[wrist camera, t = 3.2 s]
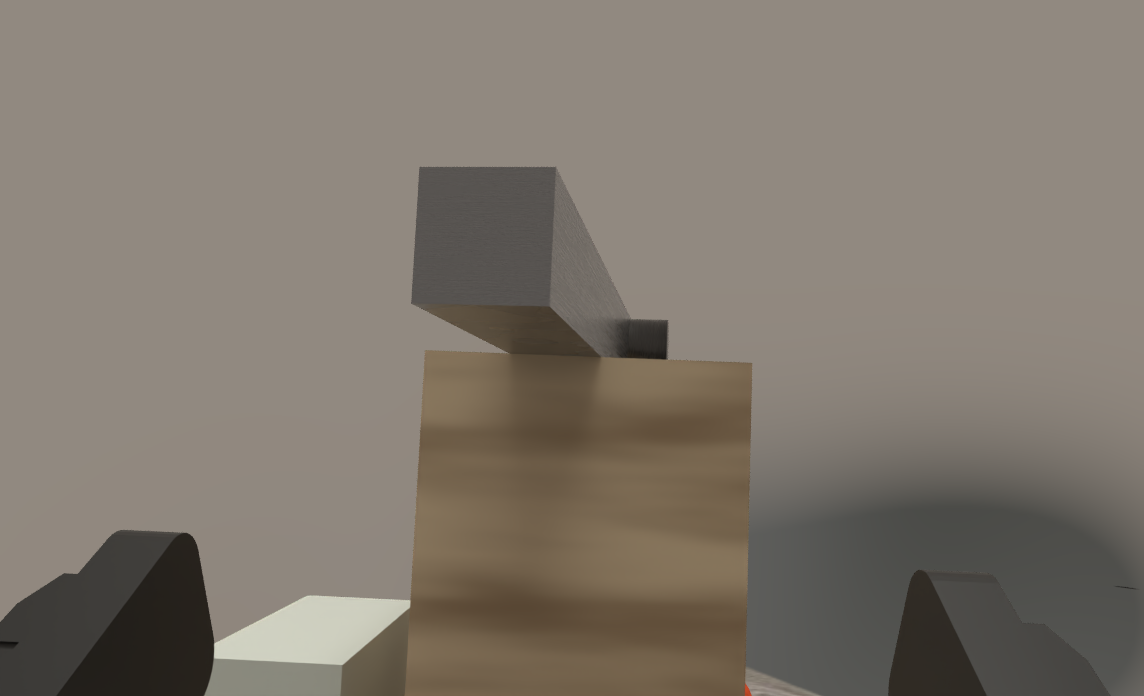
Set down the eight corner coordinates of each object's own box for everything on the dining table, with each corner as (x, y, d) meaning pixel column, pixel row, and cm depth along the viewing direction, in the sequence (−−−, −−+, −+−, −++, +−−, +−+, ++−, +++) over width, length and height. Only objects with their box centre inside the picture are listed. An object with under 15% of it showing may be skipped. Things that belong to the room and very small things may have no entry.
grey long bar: (630, 308, 18) (636, 167, 18) (334, 301, 18) (344, 167, 19) (667, 387, 41) (669, 326, 42) (536, 383, 42) (539, 323, 42)
